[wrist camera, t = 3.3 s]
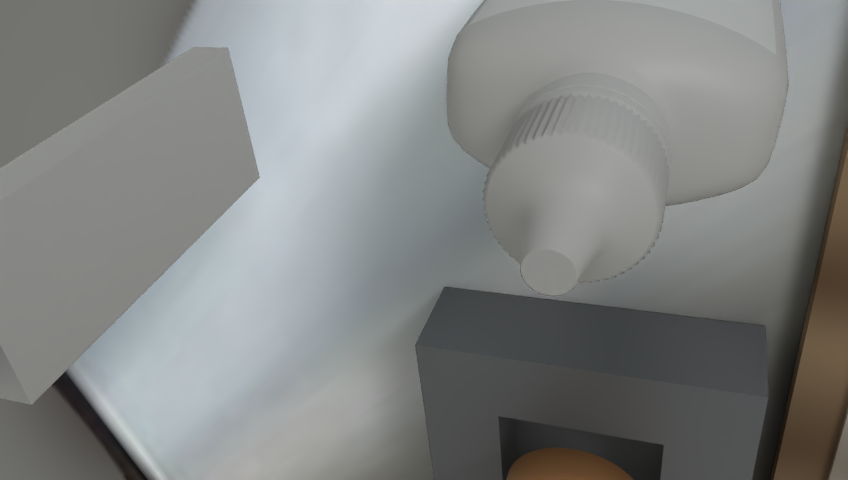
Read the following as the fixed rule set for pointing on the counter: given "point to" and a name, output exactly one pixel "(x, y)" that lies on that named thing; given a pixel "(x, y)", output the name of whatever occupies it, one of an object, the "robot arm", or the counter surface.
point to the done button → (564, 466)
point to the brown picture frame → (821, 361)
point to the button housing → (589, 387)
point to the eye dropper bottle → (611, 120)
